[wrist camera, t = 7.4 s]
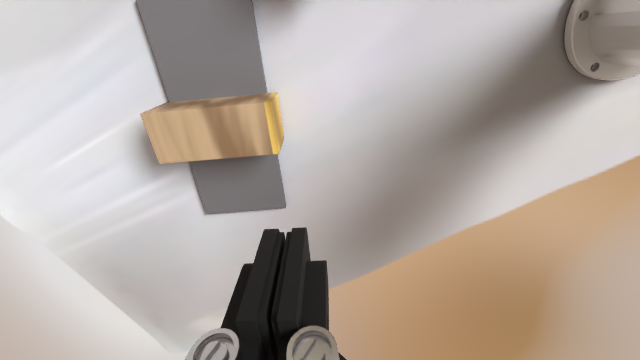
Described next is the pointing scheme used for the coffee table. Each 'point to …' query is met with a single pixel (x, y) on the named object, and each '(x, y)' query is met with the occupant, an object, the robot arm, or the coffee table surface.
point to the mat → (215, 89)
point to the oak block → (215, 128)
